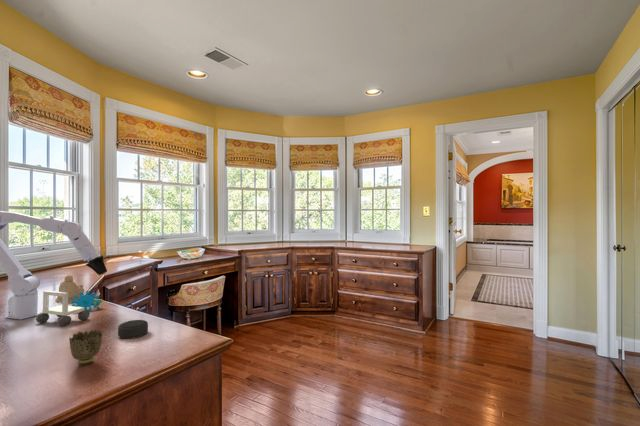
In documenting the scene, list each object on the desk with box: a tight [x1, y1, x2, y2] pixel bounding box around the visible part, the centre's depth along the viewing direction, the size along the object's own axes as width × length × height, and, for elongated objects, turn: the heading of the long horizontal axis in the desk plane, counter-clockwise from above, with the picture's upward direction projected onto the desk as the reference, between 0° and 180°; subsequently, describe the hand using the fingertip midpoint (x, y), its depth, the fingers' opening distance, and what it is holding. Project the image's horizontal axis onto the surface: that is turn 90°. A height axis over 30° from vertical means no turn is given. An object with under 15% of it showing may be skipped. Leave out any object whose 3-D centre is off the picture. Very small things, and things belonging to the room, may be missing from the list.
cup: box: [68, 329, 104, 366], centre depth 89 cm, size 8×7×8 cm
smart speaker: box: [117, 319, 149, 340], centre depth 110 cm, size 9×9×4 cm
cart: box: [35, 290, 91, 327], centre depth 124 cm, size 13×11×12 cm
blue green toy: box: [70, 290, 104, 312], centre depth 140 cm, size 11×6×10 cm
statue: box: [55, 274, 85, 303], centre depth 155 cm, size 12×14×10 cm
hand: (103, 273), depth 140 cm, fingers open, 7 cm apart
